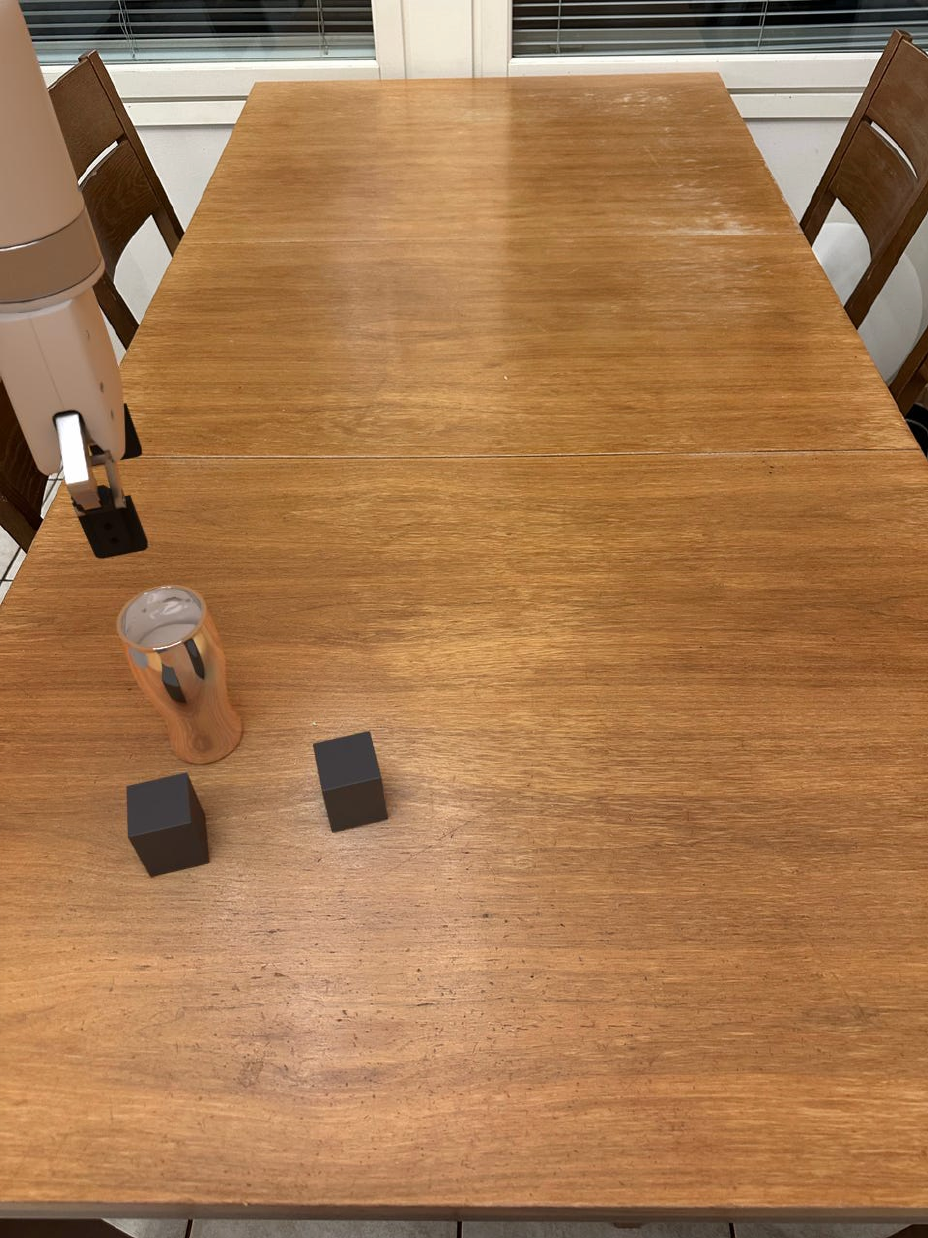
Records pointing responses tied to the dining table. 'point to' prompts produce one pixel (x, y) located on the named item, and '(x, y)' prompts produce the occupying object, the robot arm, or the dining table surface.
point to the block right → (350, 781)
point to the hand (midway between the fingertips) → (121, 502)
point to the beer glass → (181, 670)
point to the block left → (167, 824)
